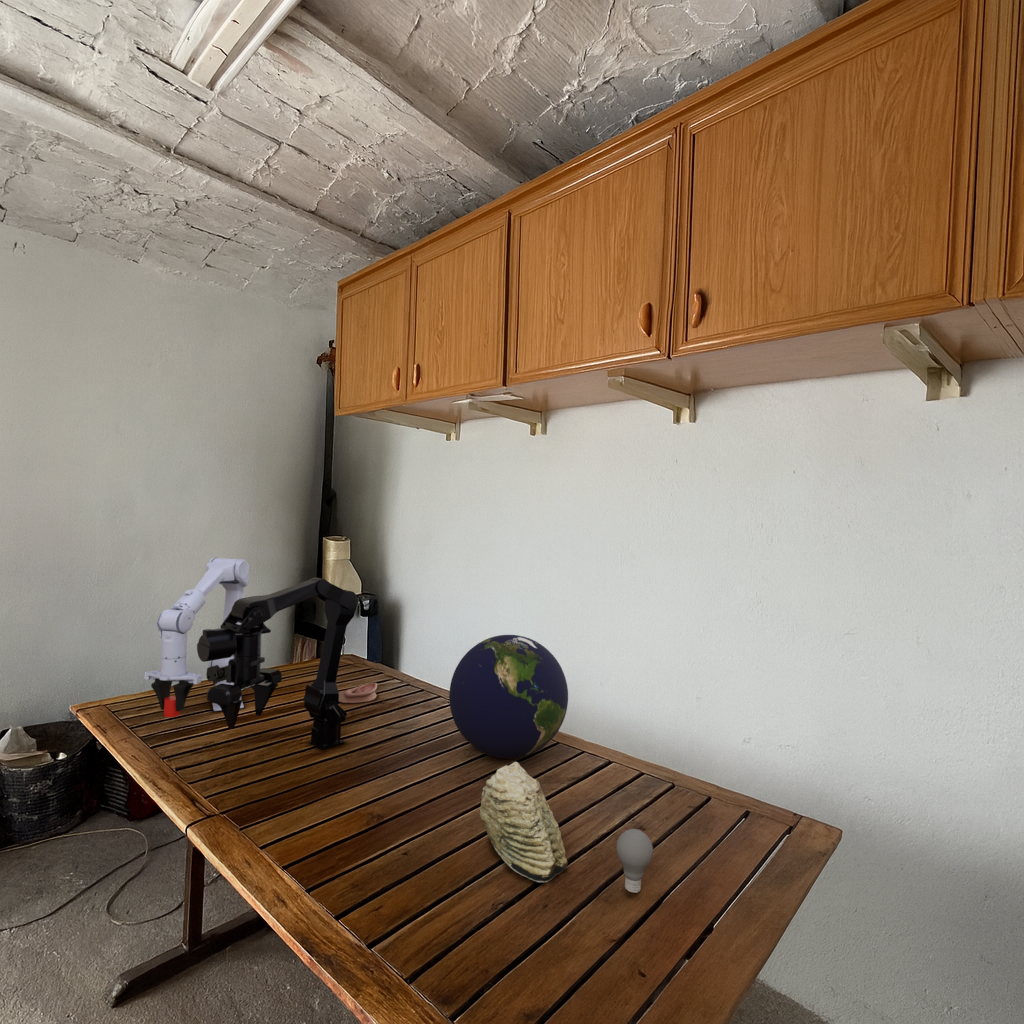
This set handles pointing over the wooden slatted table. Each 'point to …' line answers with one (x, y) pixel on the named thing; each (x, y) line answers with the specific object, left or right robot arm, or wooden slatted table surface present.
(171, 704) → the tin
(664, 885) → the wooden slatted table surface
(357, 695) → the anatomical model
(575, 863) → the wooden slatted table surface
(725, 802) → the wooden slatted table surface
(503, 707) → the globe
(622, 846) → the light bulb
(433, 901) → the wooden slatted table surface
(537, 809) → the fossil
